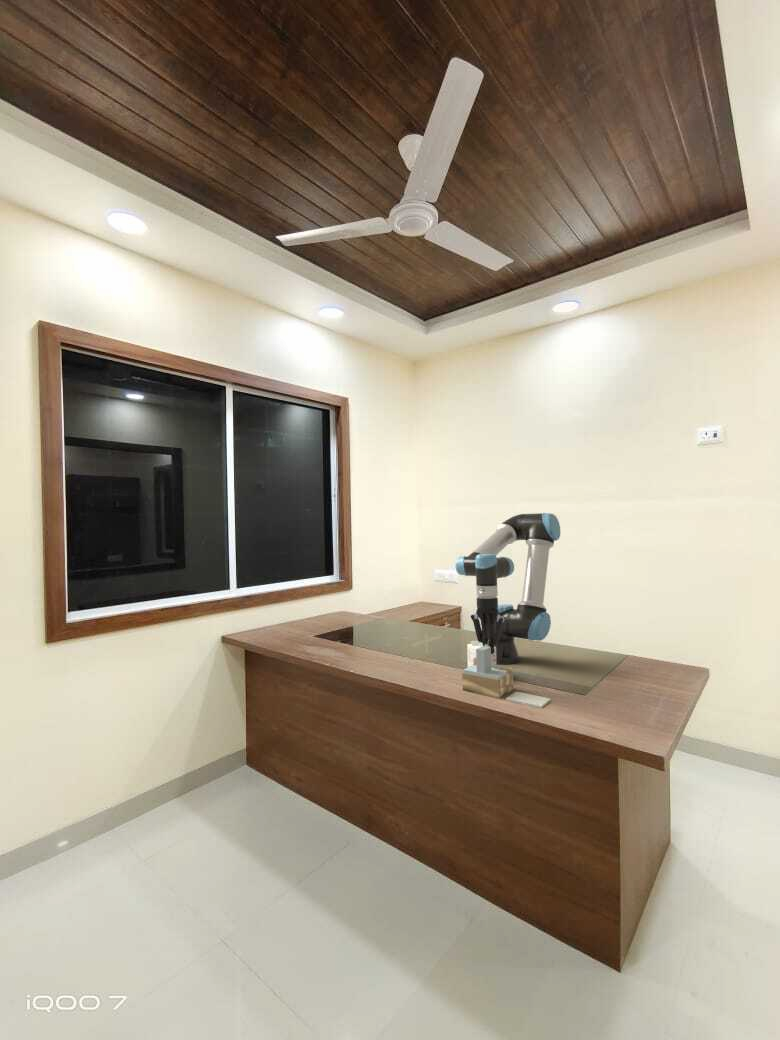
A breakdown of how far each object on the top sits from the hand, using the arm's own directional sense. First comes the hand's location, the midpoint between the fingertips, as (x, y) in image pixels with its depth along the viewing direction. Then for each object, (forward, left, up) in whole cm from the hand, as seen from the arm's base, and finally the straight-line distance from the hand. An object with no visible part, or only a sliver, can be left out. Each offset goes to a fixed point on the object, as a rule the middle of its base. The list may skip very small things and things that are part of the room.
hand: (489, 662), depth 172 cm
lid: (+4, +1, -4) cm, 6 cm away
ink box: (-9, -8, -9) cm, 15 cm away
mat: (+5, +17, -9) cm, 19 cm away
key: (0, -3, -1) cm, 3 cm away
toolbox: (+4, +1, -9) cm, 9 cm away
